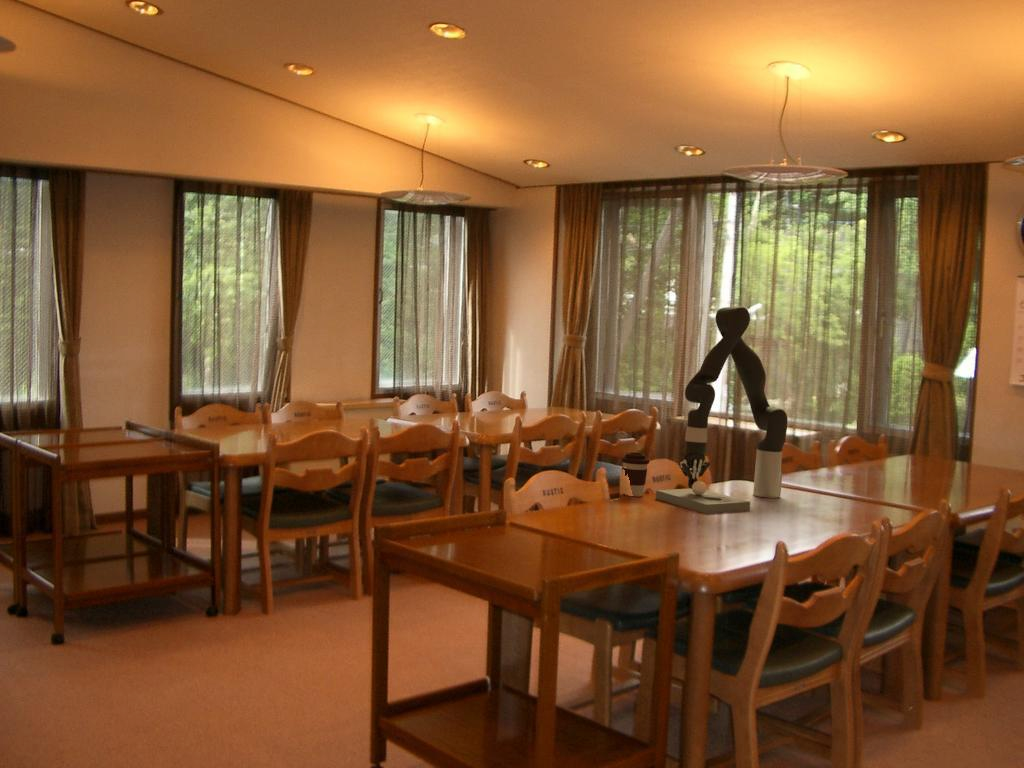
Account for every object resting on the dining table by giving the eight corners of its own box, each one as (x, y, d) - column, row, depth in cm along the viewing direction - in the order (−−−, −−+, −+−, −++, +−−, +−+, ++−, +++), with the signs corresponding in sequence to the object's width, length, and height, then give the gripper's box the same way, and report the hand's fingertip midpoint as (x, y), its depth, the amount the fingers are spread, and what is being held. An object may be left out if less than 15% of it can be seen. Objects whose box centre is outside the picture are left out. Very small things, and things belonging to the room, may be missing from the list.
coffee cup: (646, 493, 378) (649, 452, 377) (647, 498, 368) (650, 456, 367) (618, 491, 379) (621, 450, 378) (618, 496, 369) (621, 454, 368)
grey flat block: (698, 496, 379) (699, 488, 379) (749, 510, 357) (750, 501, 357) (655, 498, 369) (656, 490, 368) (705, 513, 347) (706, 504, 346)
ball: (701, 478, 367) (710, 483, 362) (699, 491, 368) (707, 496, 364) (690, 479, 364) (699, 484, 360) (687, 492, 366) (696, 497, 361)
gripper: (703, 438, 372) (699, 486, 374) (674, 438, 366) (670, 487, 367) (717, 441, 366) (713, 489, 367) (688, 441, 359) (684, 491, 360)
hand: (692, 488), depth 367 cm, fingers closed
